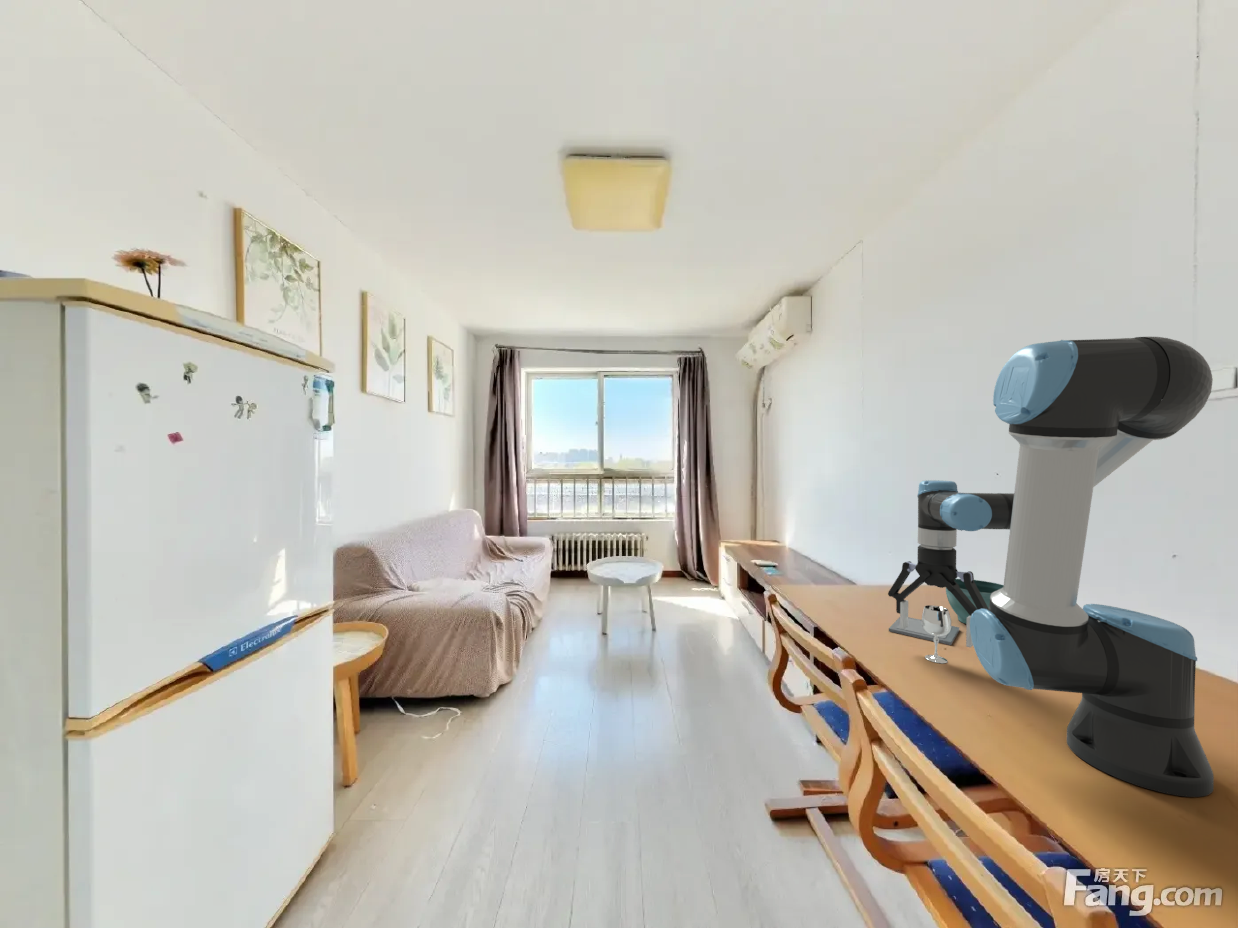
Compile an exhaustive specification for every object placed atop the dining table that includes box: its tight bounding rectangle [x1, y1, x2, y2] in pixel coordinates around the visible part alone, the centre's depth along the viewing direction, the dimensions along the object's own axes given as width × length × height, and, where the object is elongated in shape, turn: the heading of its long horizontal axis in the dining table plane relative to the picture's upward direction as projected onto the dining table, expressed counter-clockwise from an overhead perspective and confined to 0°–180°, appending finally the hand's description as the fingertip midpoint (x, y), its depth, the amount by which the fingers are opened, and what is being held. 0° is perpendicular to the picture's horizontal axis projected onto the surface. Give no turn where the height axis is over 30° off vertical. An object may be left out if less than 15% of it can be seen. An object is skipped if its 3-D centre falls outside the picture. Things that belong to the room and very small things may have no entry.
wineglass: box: [921, 604, 952, 664], centre depth 109 cm, size 6×6×12 cm
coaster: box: [888, 616, 960, 646], centre depth 127 cm, size 14×14×1 cm
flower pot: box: [945, 578, 1004, 624], centre depth 133 cm, size 16×16×11 cm
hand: (935, 636), depth 110 cm, fingers open, 13 cm apart
